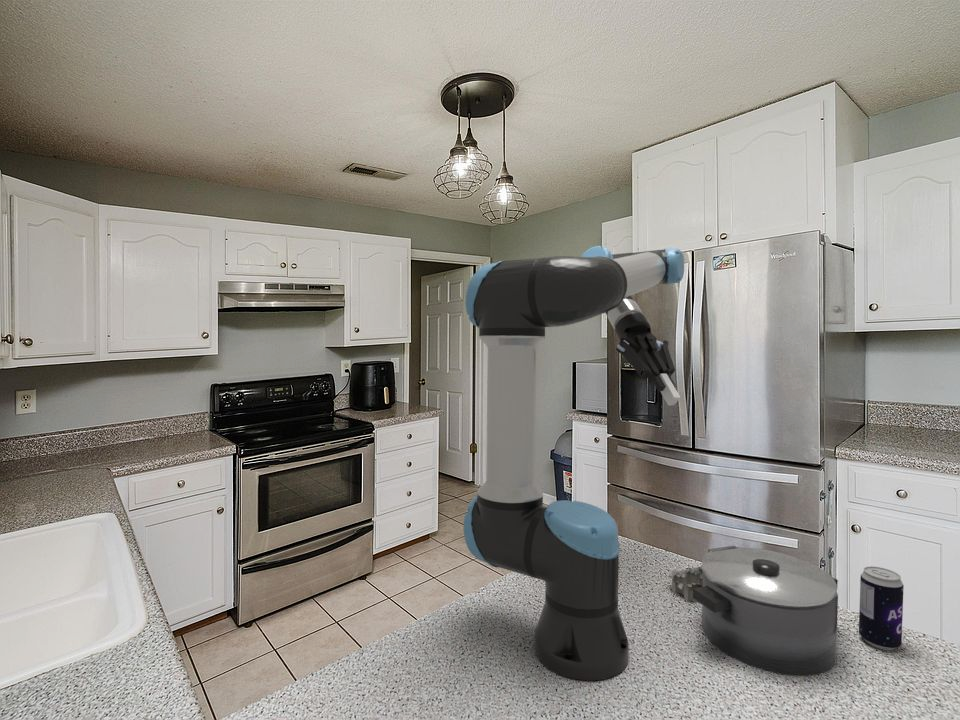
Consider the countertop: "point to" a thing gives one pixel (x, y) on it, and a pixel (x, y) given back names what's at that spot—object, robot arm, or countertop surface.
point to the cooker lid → (769, 577)
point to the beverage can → (881, 608)
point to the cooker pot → (769, 632)
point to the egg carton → (686, 581)
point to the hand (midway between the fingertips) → (674, 401)
